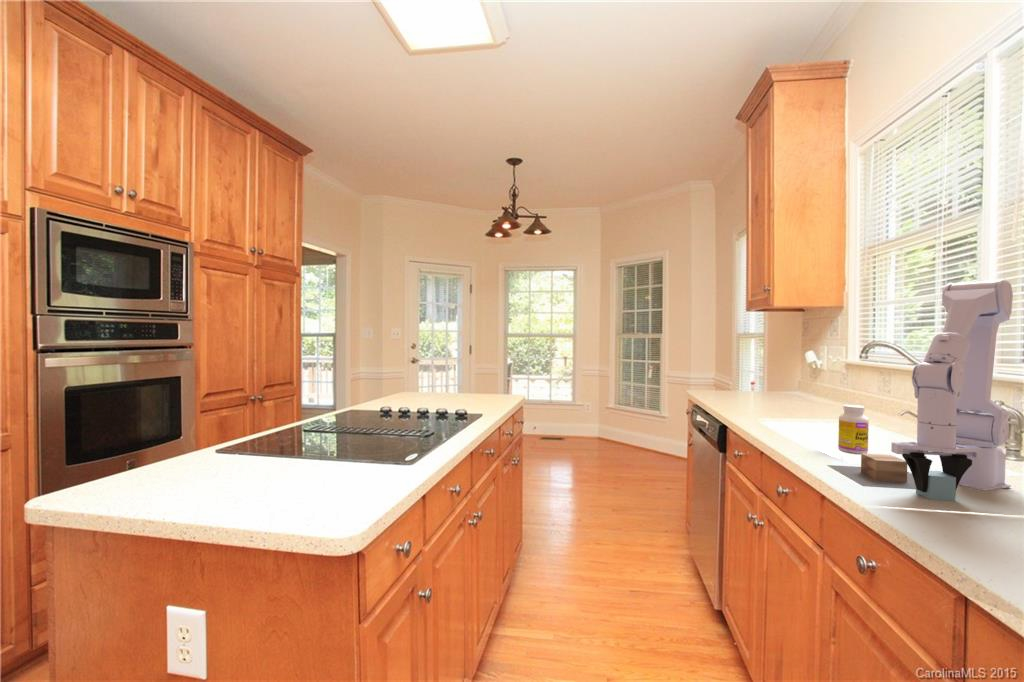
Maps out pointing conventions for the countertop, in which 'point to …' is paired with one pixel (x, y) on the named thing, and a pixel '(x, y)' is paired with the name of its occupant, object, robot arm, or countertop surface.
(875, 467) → the slab top
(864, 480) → the mat
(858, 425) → the supplement bottle
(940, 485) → the blue block
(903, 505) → the countertop surface
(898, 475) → the slab bottom
